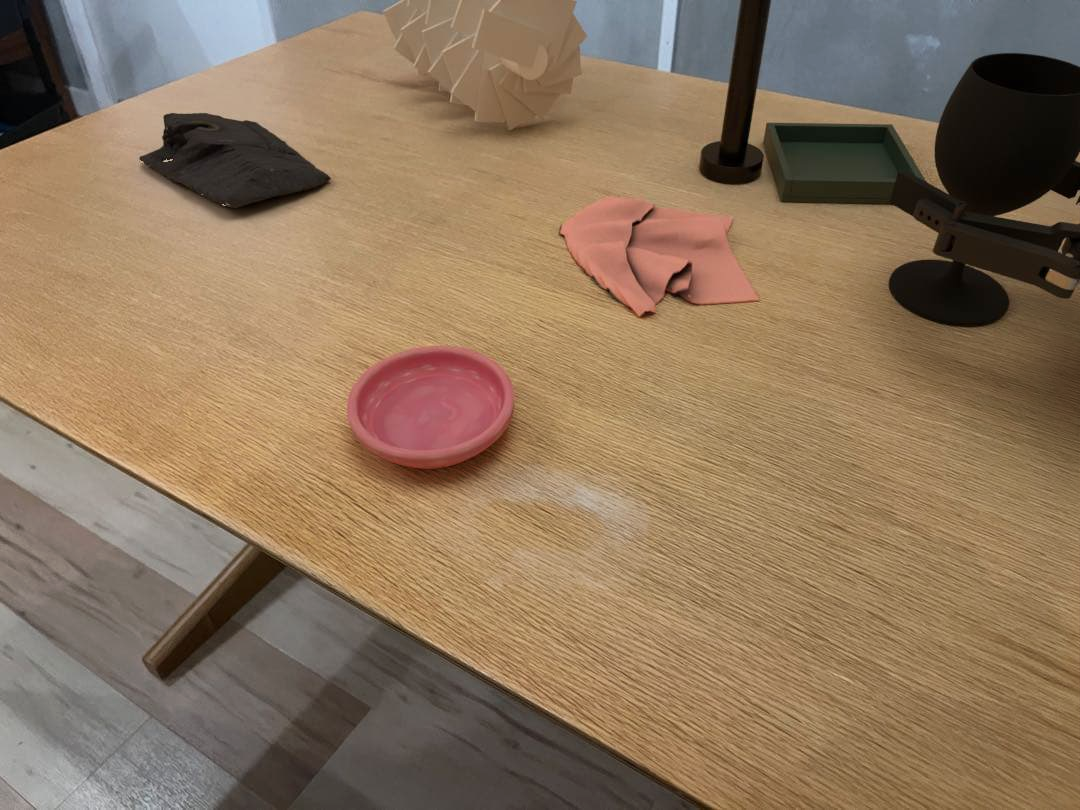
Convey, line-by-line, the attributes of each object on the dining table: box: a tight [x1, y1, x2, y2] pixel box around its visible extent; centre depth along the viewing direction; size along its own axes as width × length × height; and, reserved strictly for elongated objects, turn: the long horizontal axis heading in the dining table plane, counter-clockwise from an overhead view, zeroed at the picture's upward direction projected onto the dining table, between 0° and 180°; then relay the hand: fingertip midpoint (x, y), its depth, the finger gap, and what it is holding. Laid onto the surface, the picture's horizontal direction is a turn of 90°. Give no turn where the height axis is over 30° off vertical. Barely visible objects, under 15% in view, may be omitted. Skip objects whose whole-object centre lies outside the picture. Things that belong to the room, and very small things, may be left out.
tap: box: [698, 0, 772, 185], centre depth 83 cm, size 10×7×34 cm, turn 86°
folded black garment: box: [138, 112, 331, 209], centre depth 94 cm, size 15×22×5 cm
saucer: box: [346, 345, 516, 470], centre depth 62 cm, size 12×12×3 cm
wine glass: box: [888, 52, 1080, 327], centre depth 69 cm, size 10×10×20 cm
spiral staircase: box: [382, 0, 588, 131], centre depth 103 cm, size 18×18×25 cm
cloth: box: [558, 195, 760, 318], centre depth 80 cm, size 20×22×2 cm
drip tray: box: [762, 122, 927, 205], centre depth 93 cm, size 15×15×3 cm
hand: (956, 168), depth 70 cm, fingers open, 13 cm apart
